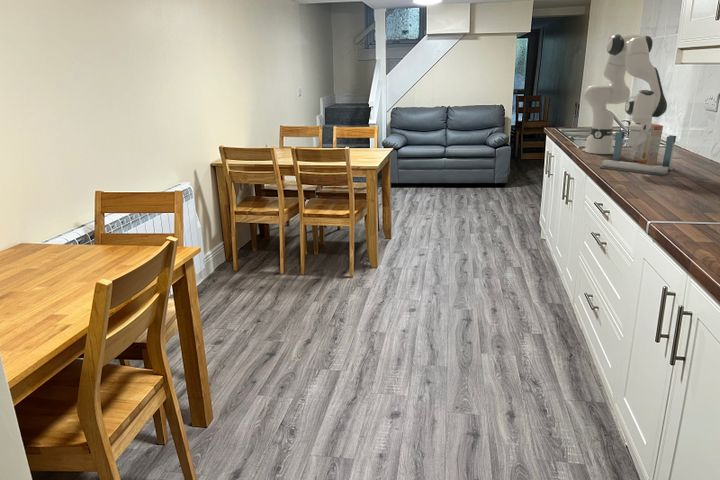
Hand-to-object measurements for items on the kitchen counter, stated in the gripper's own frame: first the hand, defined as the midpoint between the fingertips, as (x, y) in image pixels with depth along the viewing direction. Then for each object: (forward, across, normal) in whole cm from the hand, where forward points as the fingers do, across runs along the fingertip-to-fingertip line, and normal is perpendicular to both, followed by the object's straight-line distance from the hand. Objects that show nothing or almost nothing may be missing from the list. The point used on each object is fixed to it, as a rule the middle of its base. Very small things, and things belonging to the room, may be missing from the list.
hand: (635, 152), depth 272 cm
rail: (+8, 0, 0) cm, 8 cm away
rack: (+9, -12, 0) cm, 15 cm away
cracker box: (+9, -26, -1) cm, 27 cm away
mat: (+9, 0, 0) cm, 9 cm away
